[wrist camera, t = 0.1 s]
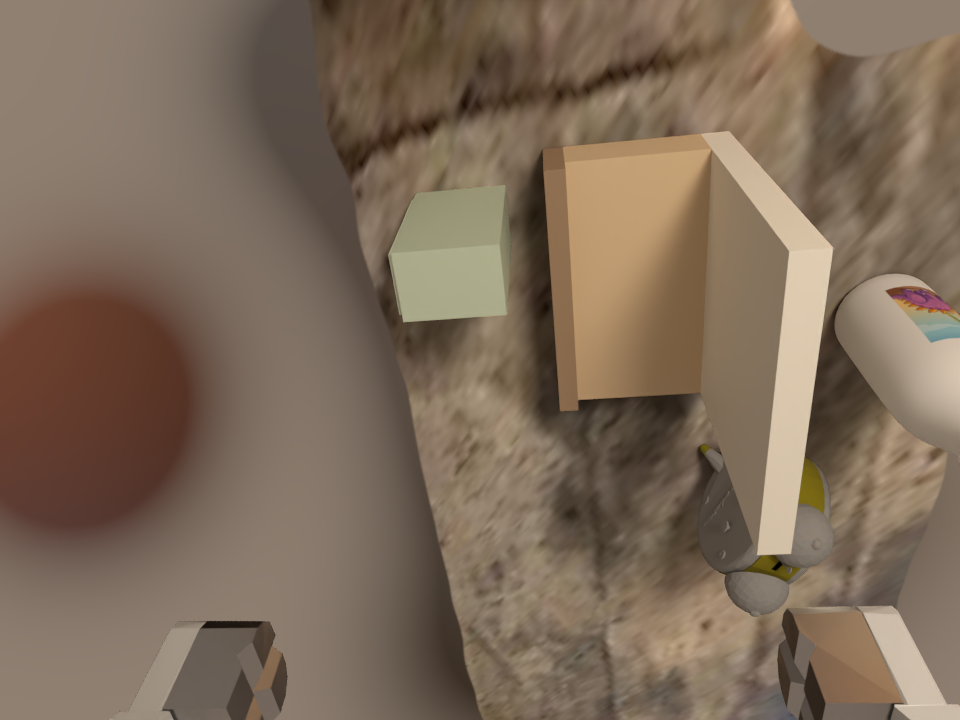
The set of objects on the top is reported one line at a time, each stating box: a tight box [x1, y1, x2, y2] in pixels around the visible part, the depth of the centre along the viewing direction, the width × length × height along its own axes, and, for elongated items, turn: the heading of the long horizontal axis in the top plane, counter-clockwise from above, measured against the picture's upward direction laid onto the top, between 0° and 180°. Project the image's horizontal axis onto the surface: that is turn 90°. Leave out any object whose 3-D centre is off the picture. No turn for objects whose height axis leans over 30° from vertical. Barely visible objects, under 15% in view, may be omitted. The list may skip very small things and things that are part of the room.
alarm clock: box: [698, 444, 834, 617], centre depth 63 cm, size 12×7×15 cm, turn 158°
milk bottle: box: [835, 274, 960, 464], centre depth 52 cm, size 8×8×20 cm
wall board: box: [543, 131, 833, 555], centre depth 50 cm, size 20×14×22 cm
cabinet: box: [388, 185, 511, 322], centre depth 54 cm, size 5×8×12 cm, turn 96°
